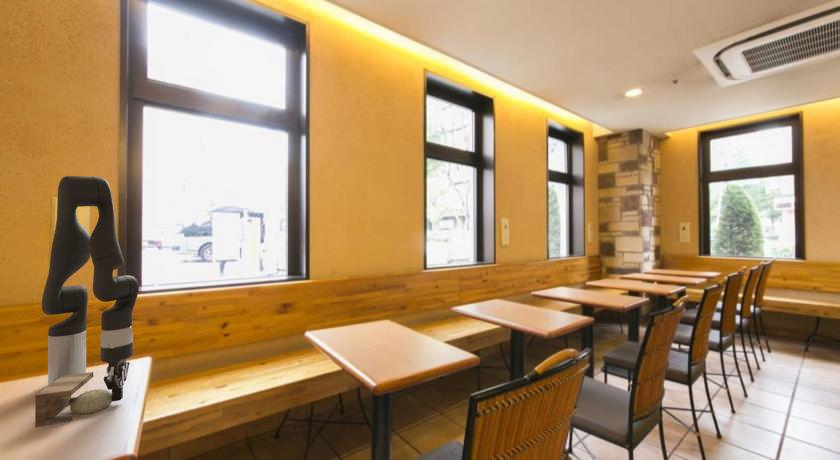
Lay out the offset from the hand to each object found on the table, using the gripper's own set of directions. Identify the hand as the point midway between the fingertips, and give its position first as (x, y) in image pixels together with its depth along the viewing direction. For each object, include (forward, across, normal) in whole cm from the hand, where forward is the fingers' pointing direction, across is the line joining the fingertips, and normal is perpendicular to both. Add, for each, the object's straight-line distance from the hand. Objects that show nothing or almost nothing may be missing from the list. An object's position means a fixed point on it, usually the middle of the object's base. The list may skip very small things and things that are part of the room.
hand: (117, 399), depth 106 cm
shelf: (+1, 0, -11) cm, 11 cm away
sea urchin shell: (+2, 0, -6) cm, 6 cm away
